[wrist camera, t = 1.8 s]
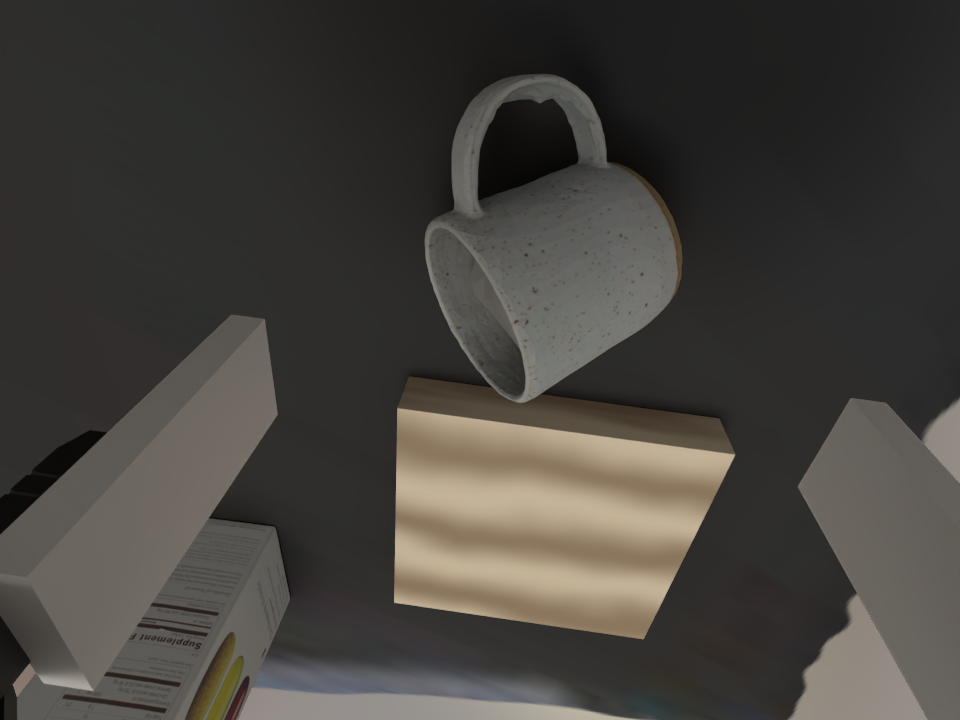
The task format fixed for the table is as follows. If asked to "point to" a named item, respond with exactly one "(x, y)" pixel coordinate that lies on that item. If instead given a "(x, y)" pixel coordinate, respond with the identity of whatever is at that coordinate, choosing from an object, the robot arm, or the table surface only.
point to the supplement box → (188, 637)
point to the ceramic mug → (548, 251)
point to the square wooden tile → (547, 504)
